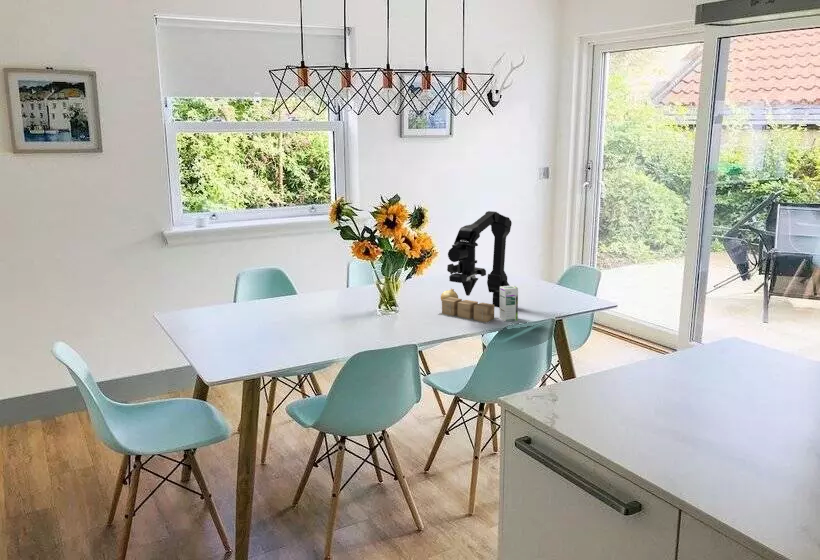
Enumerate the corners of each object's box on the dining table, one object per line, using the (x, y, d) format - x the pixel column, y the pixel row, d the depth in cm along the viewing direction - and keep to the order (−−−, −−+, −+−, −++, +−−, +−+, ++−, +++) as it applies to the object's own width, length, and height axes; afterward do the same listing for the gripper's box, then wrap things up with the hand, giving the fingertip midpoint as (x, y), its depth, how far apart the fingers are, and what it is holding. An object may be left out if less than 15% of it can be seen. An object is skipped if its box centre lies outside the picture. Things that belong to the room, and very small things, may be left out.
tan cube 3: (450, 310, 295) (450, 296, 294) (461, 312, 292) (461, 299, 290) (441, 313, 291) (441, 299, 289) (453, 315, 287) (453, 301, 286)
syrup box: (504, 323, 278) (505, 288, 275) (499, 320, 284) (499, 285, 281) (517, 322, 280) (518, 287, 277) (511, 318, 285) (512, 284, 282)
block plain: (465, 313, 291) (465, 299, 289) (477, 315, 287) (477, 301, 286) (457, 316, 286) (457, 302, 285) (469, 318, 282) (469, 304, 281)
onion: (457, 306, 306) (457, 291, 304) (439, 306, 307) (439, 290, 306) (459, 302, 313) (459, 287, 312) (442, 301, 315) (442, 286, 313)
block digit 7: (481, 316, 286) (481, 302, 284) (494, 318, 282) (494, 304, 281) (473, 319, 281) (473, 305, 280) (485, 322, 277) (486, 307, 276)
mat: (451, 311, 298) (451, 309, 298) (498, 320, 283) (498, 318, 283) (437, 316, 290) (437, 314, 290) (485, 326, 276) (485, 323, 275)
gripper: (464, 252, 293) (464, 288, 297) (438, 259, 279) (438, 297, 282) (486, 255, 286) (486, 292, 290) (461, 262, 272) (461, 301, 276)
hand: (467, 295), depth 285 cm, fingers closed
